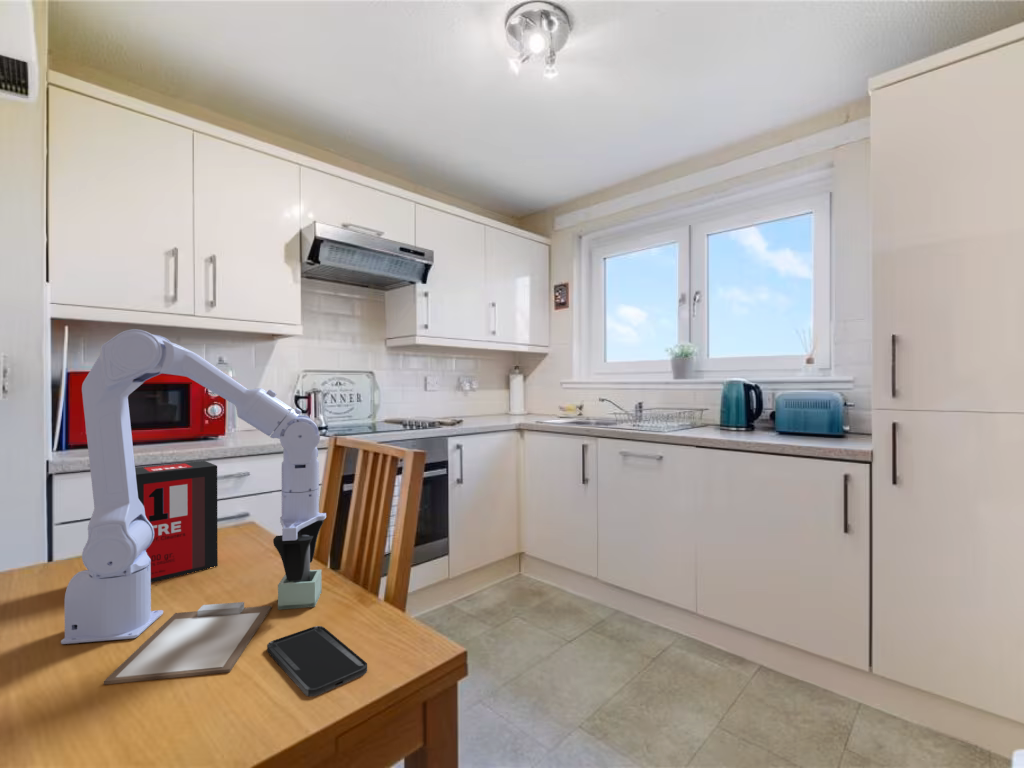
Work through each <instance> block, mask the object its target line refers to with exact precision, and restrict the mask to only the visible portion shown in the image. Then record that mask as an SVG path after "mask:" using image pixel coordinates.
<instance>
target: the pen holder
mask: <svg viewBox="0 0 1024 768" xmlns="http://www.w3.org/2000/svg"><path fill="white" fill-rule="evenodd" d="M322 580H323V579H322V568H321V569H310V581H306V582H293V581H288V580H287V577H286V574H285V573H284V576H283V577H282V578H281V580H280V581H279V582H278V584H277V610H290V609H304V608H316V605H317V603H318V601H319V599H320V596H321V595H320V594H322V586H323V585H322Z"/></svg>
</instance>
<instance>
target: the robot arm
mask: <svg viewBox="0 0 1024 768" xmlns="http://www.w3.org/2000/svg"><path fill="white" fill-rule="evenodd" d="M161 374H164V375H165V374H166V375H173V376H180V377H186V378H188V379H190V380H192V381H194V382H195V383H197V384H199V385H200V386H202V387H203V388H206V389H207V390H209V391H210V392H213V394H216V395H217V396H219V397H221V398H222V399H224V400H226V401H227V402H229V403H231V404H233V405H234V407H235V409H236V414H237V417H238V418H239V419H240V420H242V421H243V422H246V423H247V424H248V425H251V427H254V428H255V429H257V430H258V431H260V432H261V433H263V434H264V435H266V436H268V437H269V438H271V439H279V442H280V445H281V446H282V448H283V450H282V451H283V455H282V457H283V460H282V462H281V516H280V518H279V519H280V520H279V523H280V525H281V527H282V535H276V536H274V537H273V541H272V542H273V546H274V547H275V548H276V549H275V550H277V552H278V554H279V556H280V559H281V561H282V565H283V569H284V572H285V573H284V575H285V574H286V577H287V580H288V581H293V580H301V579H302V576H303V573H304V567H305V560H306V554H307V551H308V547H309V545H310V564H311V563H312V562H313V559H314V556H315V550H316V545H317V540H318V536H319V535H320V534H319V533H320V530H321V528H322V526H323V524H324V522H325V519H326V518H327V512H320V507H319V506H320V503H319V501H320V496H319V495H320V494H319V493H320V490H319V487H320V478H319V477H320V474H319V473H320V469H319V467H320V461H319V459H318V457H319V449H318V445H319V443H320V439H321V436H320V432H319V431H320V430H319V427H318V425H317V423H316V422H315V421H314V420H312V419H311V417H310V416H308V415H303V414H302V410H301V409H300V408H298V407H296V408H295V409H294V408H292V407H291V406H290V405H289V404H287V403H285V402H284V401H282V400H281V399H280V398H278V397H276V396H277V392H276V391H274V390H272V389H268V391H267V390H265V389H264V388H262V387H258V388H252V389H248V388H247V387H246V386H244V385H242V384H241V383H240V382H238V381H237V380H235V379H234V378H232V377H231V376H230V375H229V374H227V373H225V372H223V371H222V370H221V369H219V367H217V366H215V365H214V364H212V363H211V362H209V361H208V360H207V359H205V358H204V357H202V356H201V355H199V354H198V353H197V352H194V351H192V350H190V349H188V348H186V347H185V346H182V345H180V344H177V343H175V342H172V341H170V340H169V339H168V338H167V337H165V336H162V335H160V334H152V333H150V332H148V331H146V330H143V329H137V328H136V329H135V328H133V329H126V330H124V331H121V332H119V333H117V334H116V335H115V336H114V337H112V338H110V339H109V340H108V341H106V342H105V343H103V344H101V347H100V351H99V355H98V357H97V358H96V361H95V362H94V364H93V365H92V367H91V369H90V370H89V372H88V374H86V375H87V376H86V377H85V378H84V380H83V382H82V385H81V394H82V405H83V413H84V422H85V430H86V432H85V433H86V440H87V442H86V443H87V450H88V461H89V462H88V463H89V470H90V479H91V488H92V498H93V507H94V509H93V511H92V514H91V517H90V519H89V521H88V525H87V535H88V536H87V541H86V543H85V545H84V546H83V550H82V553H81V560H82V563H83V565H84V567H85V568H86V569H85V570H80V571H78V572H77V573H75V574H74V575H73V576H72V578H71V579H70V580H69V582H68V585H67V586H66V591H65V593H64V638H62V639H61V640H60V644H61V645H66V644H67V645H69V644H79V643H92V642H93V643H94V642H105V641H116V640H118V641H119V640H128V639H129V640H130V639H135V638H138V637H139V636H140V635H141V634H143V632H145V631H146V630H147V629H148V628H149V627H150V626H151V625H152V624H153V623H154V622H156V621H157V620H158V619H159V618H160V617H161V616H162V615H164V610H163V609H159V610H152V593H151V592H152V590H151V589H152V588H151V587H152V585H151V584H152V583H151V559H150V558H149V556H148V555H147V553H146V549H147V548H148V547H149V546H150V545H151V543H152V541H153V539H154V529H153V526H152V524H151V523H150V522H149V521H148V519H147V518H146V515H145V509H144V506H143V504H142V503H141V502H140V500H139V498H138V491H137V481H136V472H135V468H136V466H135V465H136V464H135V456H134V455H135V453H134V446H133V435H132V426H131V425H132V424H131V415H130V407H129V406H130V404H129V396H130V395H131V394H132V393H133V392H134V391H136V390H137V389H138V388H139V387H141V385H143V384H144V383H145V382H146V381H148V380H150V379H152V378H154V377H157V376H159V375H161ZM301 414H302V415H301ZM302 535H309V536H302Z"/></svg>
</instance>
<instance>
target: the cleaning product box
mask: <svg viewBox="0 0 1024 768" xmlns="http://www.w3.org/2000/svg"><path fill="white" fill-rule="evenodd" d="M135 472H136V481H137V491H138V498H139V500H140V502H141V503H142V504H143V506H144V509H145V515H146V518H147V519H148V521H149V522H150V523H151V524H152V526H153V529H154V539H153V541H152V543H151V545H150V546H149V547H148V548H147V549H146V553H147V555H148V556H149V558H150V559H151V584H152V583H155V582H159V581H164V580H167V579H168V580H169V579H172V578H176V577H180V575H181V576H184V574H185V575H188V574H187V573H190V574H193V573H192V572H194V573H196V572H195V571H198V572H200V571H199V570H202V571H204V570H203V569H206V570H208V569H207V568H210V567H214V566H218V562H219V561H218V551H219V550H218V465H216V464H215V463H211V462H209V461H206V460H198V461H188V462H186V461H185V462H177V463H169V464H159V465H158V464H157V465H147V466H137V467H136V466H135Z"/></svg>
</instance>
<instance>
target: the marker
mask: <svg viewBox="0 0 1024 768" xmlns="http://www.w3.org/2000/svg"><path fill="white" fill-rule="evenodd" d="M302 536H309V535H302ZM310 570H311V563H310V545H309V547H308V551H307V554H306V560H305V567H304V573H303V576H302V579H301V580H293V582H306V581H310Z"/></svg>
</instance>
